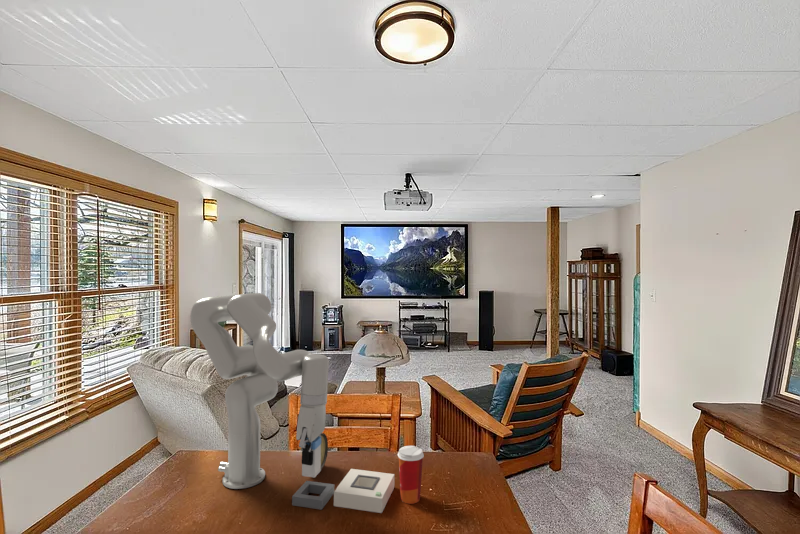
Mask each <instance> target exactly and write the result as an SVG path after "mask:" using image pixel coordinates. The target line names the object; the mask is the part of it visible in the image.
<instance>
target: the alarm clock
mask: <svg viewBox="0 0 800 534" xmlns="http://www.w3.org/2000/svg"><path fill="white" fill-rule="evenodd" d="M328 451H329V444H328V437H327V435H326V433H324V432H322V435H321V470H322V469H323V468H324V466H325V464H326V461H327V457H328V454H329V453H328Z"/></svg>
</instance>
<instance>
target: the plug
mask: <svg viewBox="0 0 800 534" xmlns="http://www.w3.org/2000/svg"><path fill="white" fill-rule="evenodd" d="M307 439H309V438H307ZM306 444H308V445H309V444H310V443H308V442H306ZM312 451H313V464H312V465H311V466H310V465H305V464H302V463H301V476H302V477H308V478H316V477H317V475H319V474H320V472H321V471H322V469H321V437H317V438H316V439H315V440H314V441H313V446H312Z"/></svg>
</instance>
